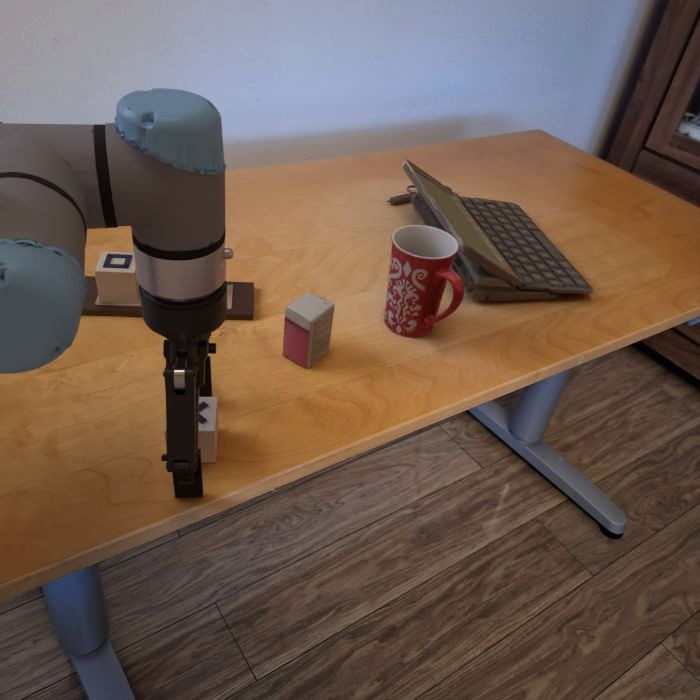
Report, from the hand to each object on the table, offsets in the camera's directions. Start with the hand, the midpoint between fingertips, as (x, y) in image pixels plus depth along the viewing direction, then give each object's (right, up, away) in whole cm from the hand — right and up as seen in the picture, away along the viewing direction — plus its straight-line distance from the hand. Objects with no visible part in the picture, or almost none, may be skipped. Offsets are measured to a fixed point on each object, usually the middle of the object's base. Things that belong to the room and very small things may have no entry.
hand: (195, 444), depth 67 cm
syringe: (+30, +40, +55) cm, 74 cm away
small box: (+11, +10, +14) cm, 21 cm away
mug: (+26, +13, +21) cm, 36 cm away
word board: (-9, +17, +20) cm, 28 cm away
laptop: (+41, +27, +42) cm, 64 cm away
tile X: (0, 0, 0) cm, 0 cm away
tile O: (-15, +18, +18) cm, 30 cm away
